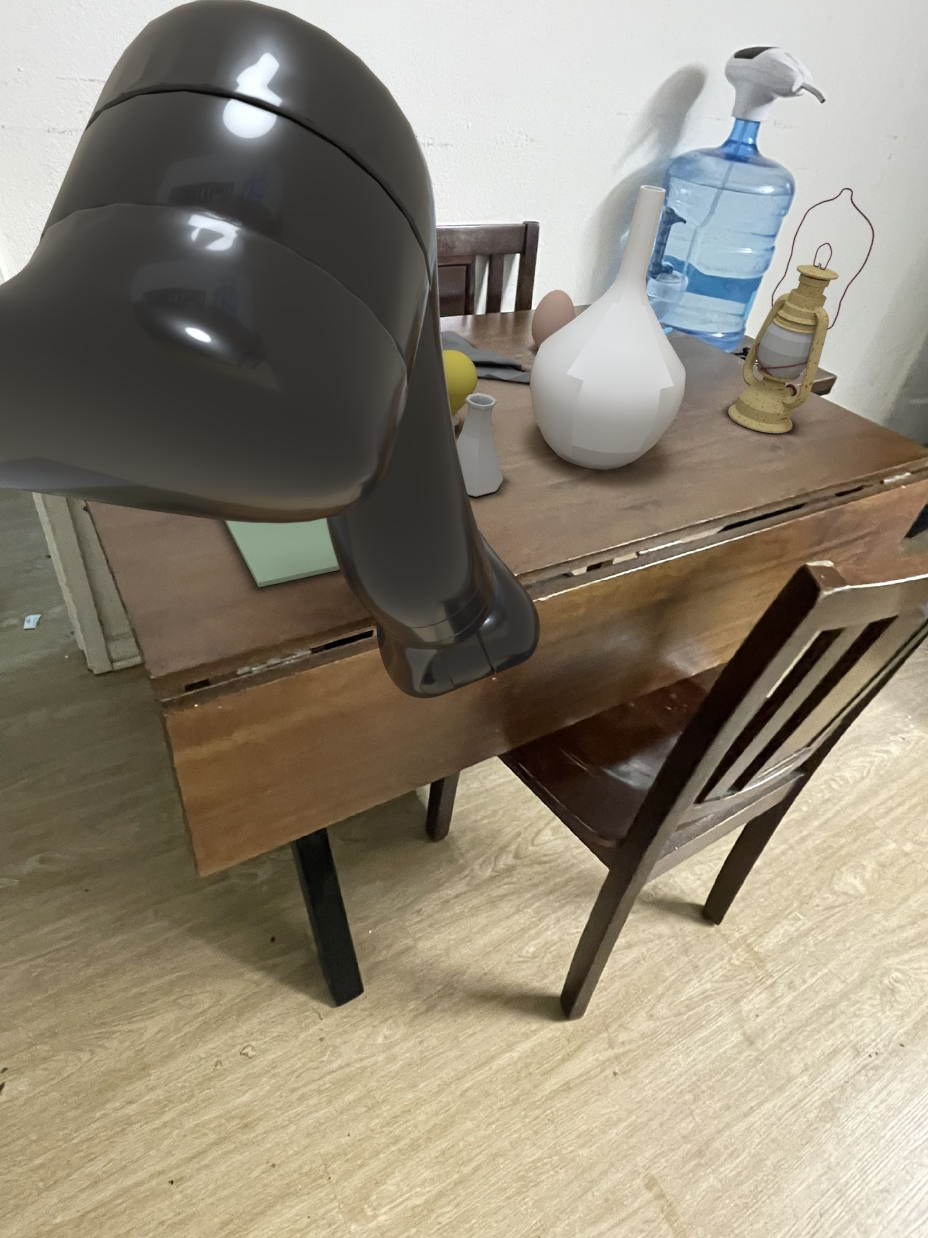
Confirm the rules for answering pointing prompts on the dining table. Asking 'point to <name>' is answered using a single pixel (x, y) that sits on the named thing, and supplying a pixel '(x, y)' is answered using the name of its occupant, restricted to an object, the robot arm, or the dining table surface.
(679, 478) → the dining table surface
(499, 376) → the cloth
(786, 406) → the lantern
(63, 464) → the robot arm
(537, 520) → the dining table surface
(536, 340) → the egg
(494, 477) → the flask
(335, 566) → the mat
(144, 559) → the dining table surface
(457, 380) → the light bulb
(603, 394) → the vase
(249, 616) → the dining table surface
